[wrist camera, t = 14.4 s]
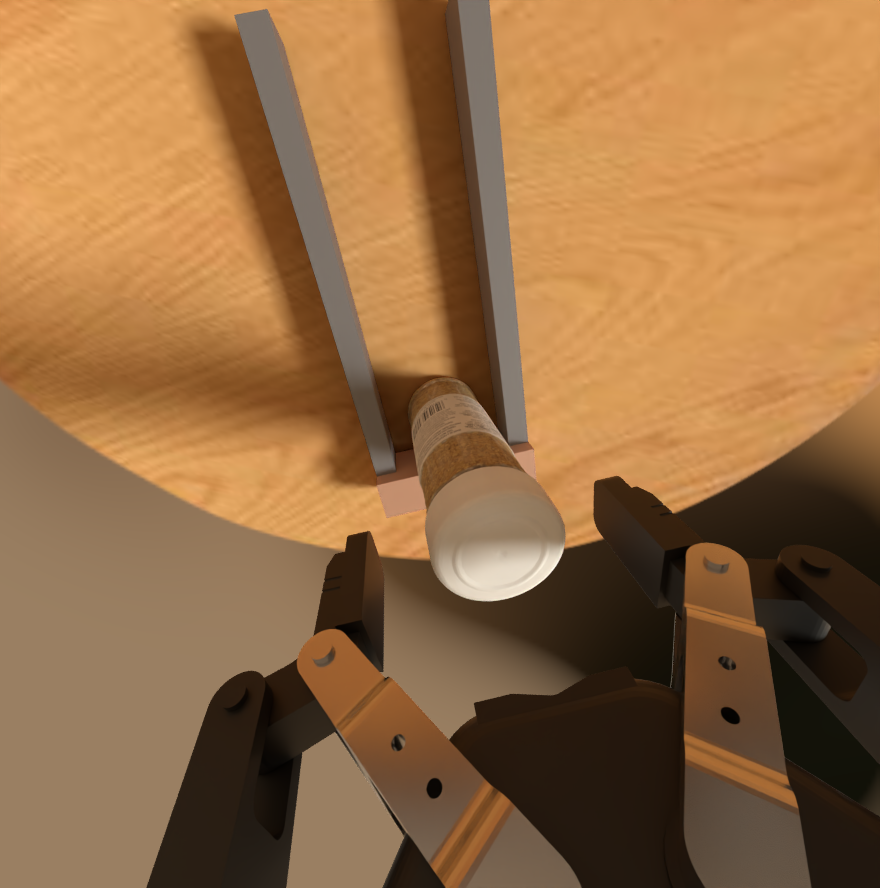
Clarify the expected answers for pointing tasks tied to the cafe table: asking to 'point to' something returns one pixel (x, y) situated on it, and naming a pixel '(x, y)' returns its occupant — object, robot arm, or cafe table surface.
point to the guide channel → (488, 223)
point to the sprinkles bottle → (479, 499)
